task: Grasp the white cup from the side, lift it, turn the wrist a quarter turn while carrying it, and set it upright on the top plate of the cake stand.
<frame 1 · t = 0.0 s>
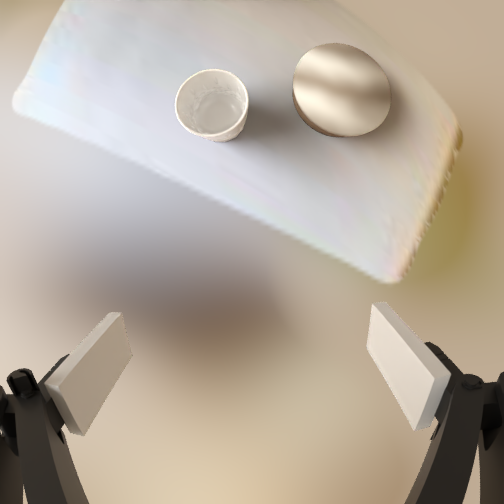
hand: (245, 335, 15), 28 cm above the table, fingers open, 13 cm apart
cake stand: (334, 97, 37), on the table
white cup: (221, 119, 38), on the table
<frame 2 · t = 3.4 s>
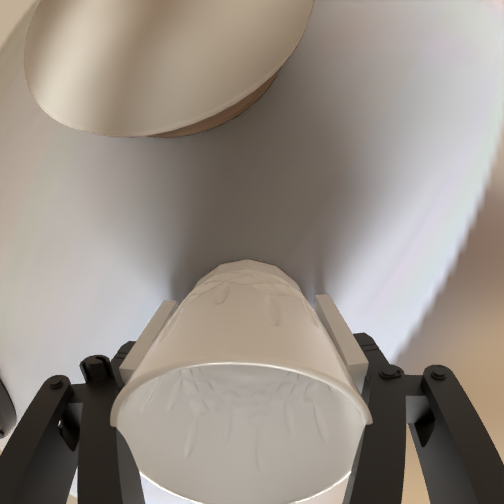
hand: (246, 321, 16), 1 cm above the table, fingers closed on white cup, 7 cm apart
cake stand: (178, 38, 13), on the table
white cup: (247, 314, 17), on the table, touching gripper
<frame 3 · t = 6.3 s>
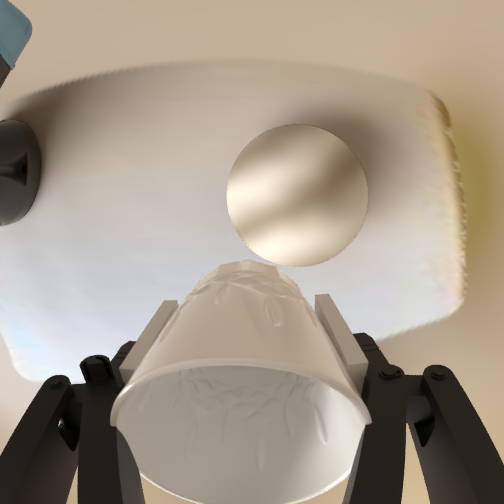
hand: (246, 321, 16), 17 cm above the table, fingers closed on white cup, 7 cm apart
cake stand: (292, 193, 31), on the table
white cup: (246, 314, 17), point 16 cm above the table, touching gripper
when the fingers open (8 cm above the table, at t = 8.9 s): white cup drops 1 cm, resting on cake stand.
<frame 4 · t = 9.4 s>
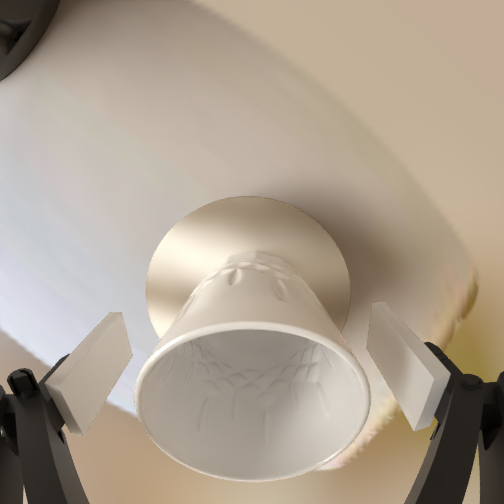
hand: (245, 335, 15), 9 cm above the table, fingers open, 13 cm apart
cake stand: (249, 276, 23), on the table
white cup: (253, 302, 18), point 5 cm above the table, touching cake stand
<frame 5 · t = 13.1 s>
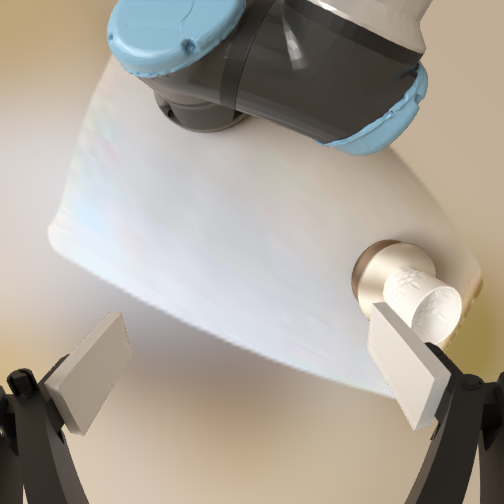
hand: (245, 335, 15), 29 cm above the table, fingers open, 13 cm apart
cake stand: (385, 276, 44), on the table
white cup: (402, 287, 39), point 5 cm above the table, touching cake stand
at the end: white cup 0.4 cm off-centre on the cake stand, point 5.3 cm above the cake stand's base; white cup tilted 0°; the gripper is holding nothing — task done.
